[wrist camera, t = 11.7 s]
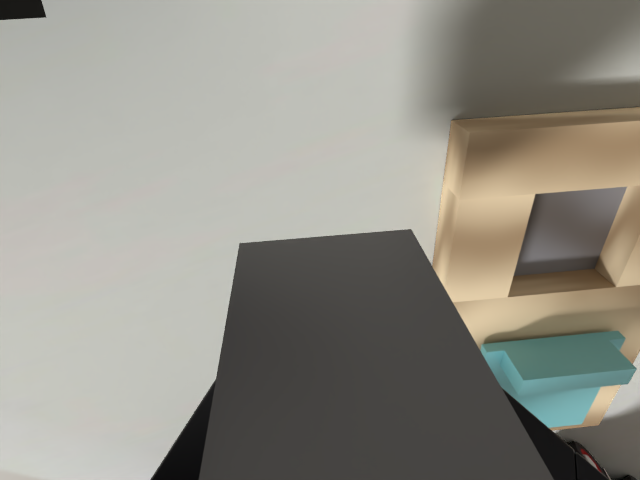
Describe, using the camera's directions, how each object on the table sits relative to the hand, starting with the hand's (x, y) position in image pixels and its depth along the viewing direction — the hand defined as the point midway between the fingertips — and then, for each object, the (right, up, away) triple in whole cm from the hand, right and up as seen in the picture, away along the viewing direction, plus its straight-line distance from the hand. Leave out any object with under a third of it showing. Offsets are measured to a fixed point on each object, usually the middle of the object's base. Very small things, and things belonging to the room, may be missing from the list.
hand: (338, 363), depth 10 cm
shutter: (+13, -6, +14) cm, 20 cm away
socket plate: (+12, 0, +14) cm, 19 cm away
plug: (0, +1, +2) cm, 2 cm away
